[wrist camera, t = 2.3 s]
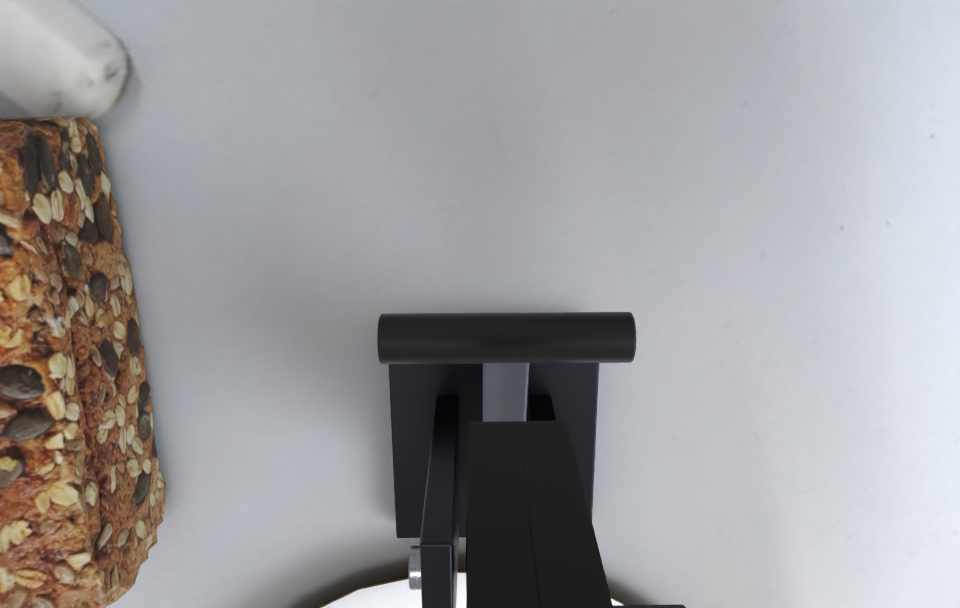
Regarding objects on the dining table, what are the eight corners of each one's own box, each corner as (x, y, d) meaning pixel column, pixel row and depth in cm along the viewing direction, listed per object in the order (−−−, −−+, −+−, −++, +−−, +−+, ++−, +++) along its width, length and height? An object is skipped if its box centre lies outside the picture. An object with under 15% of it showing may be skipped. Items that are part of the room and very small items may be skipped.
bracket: (390, 325, 34) (348, 463, 23) (596, 324, 34) (654, 460, 23) (398, 523, 37) (365, 728, 26) (587, 521, 37) (635, 726, 26)
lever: (382, 286, 19) (373, 358, 17) (627, 285, 19) (643, 357, 17) (414, 555, 28) (410, 621, 26) (581, 554, 28) (589, 620, 26)
